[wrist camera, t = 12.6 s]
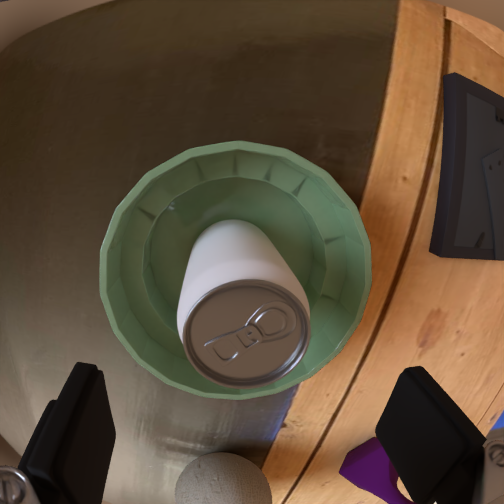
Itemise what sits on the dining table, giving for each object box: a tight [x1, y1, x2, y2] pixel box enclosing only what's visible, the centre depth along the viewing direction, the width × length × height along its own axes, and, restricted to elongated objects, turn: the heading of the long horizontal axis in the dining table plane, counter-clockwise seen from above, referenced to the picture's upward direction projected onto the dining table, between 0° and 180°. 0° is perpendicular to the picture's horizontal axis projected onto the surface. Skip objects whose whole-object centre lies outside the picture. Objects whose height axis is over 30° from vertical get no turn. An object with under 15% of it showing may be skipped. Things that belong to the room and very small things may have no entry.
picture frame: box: [429, 73, 504, 261], centre depth 25 cm, size 13×2×18 cm
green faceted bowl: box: [100, 140, 372, 400], centre depth 22 cm, size 17×17×7 cm
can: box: [177, 219, 311, 389], centre depth 19 cm, size 6×6×12 cm
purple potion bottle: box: [339, 437, 417, 504], centre depth 26 cm, size 8×8×18 cm
